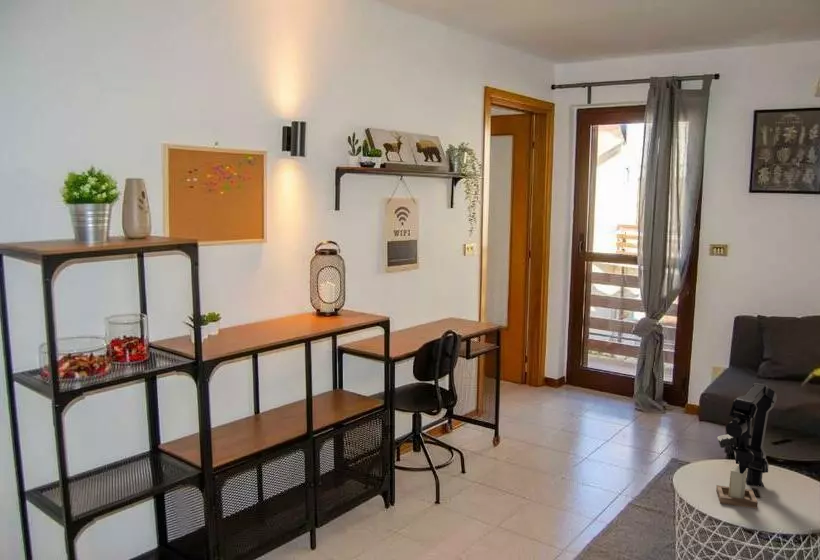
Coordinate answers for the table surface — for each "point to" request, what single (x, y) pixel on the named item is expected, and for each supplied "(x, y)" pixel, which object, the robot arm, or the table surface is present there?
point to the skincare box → (737, 483)
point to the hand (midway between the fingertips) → (739, 468)
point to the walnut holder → (747, 501)
